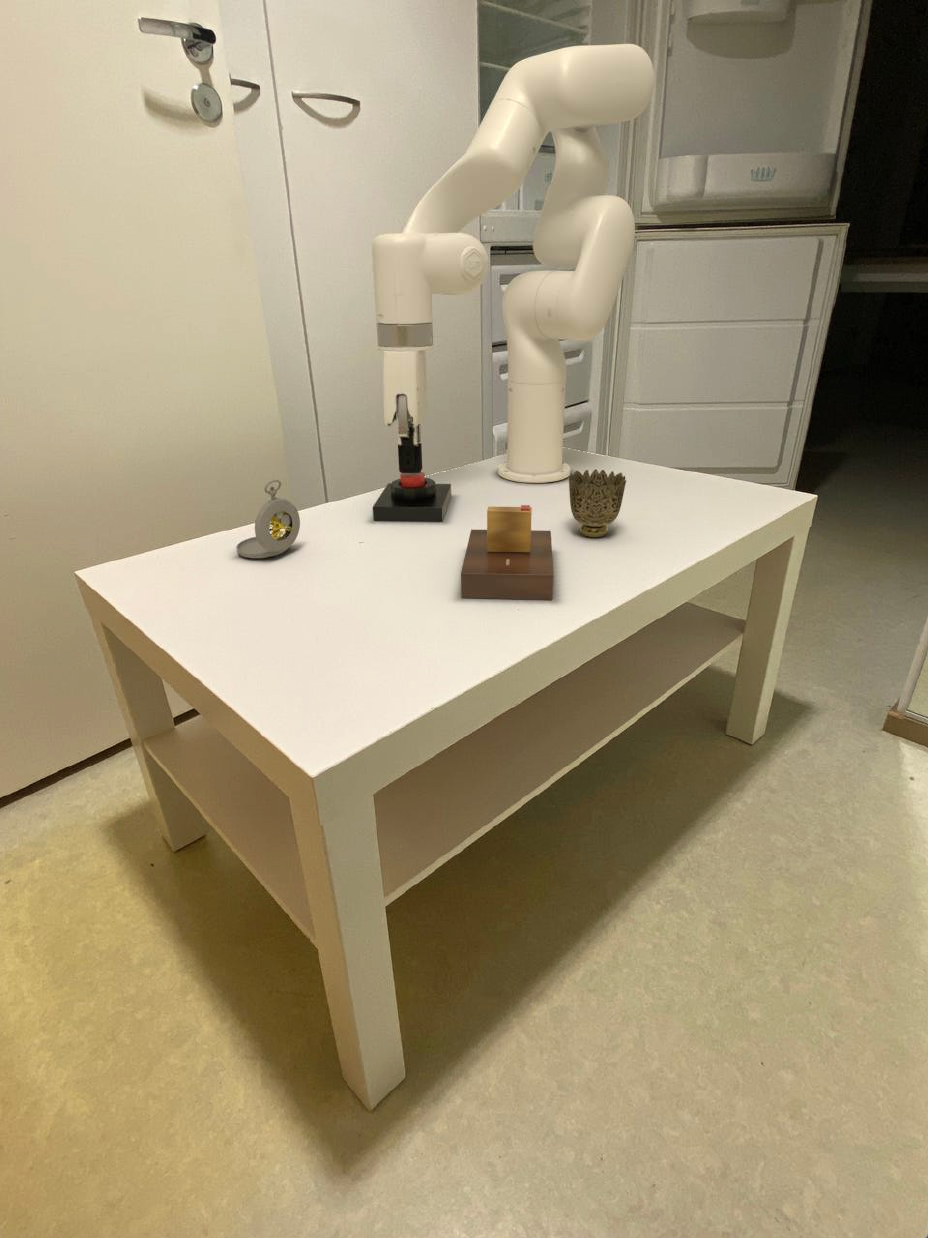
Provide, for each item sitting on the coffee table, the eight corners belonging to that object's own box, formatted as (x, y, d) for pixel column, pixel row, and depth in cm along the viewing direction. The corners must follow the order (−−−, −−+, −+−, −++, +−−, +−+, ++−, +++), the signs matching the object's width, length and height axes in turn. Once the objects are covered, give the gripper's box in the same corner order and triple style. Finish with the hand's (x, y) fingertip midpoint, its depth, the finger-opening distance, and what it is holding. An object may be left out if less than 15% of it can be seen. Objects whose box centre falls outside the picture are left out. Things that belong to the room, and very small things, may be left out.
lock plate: (471, 551, 90) (471, 528, 88) (549, 552, 89) (550, 529, 88) (461, 598, 78) (460, 571, 76) (552, 600, 77) (553, 573, 75)
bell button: (403, 482, 106) (402, 470, 105) (426, 482, 106) (426, 470, 105) (399, 488, 103) (398, 477, 102) (423, 489, 102) (422, 477, 102)
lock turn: (487, 551, 81) (487, 508, 79) (488, 546, 83) (487, 504, 80) (530, 552, 81) (531, 509, 79) (530, 547, 82) (531, 504, 80)
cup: (621, 545, 91) (626, 485, 87) (563, 542, 92) (566, 482, 89) (621, 526, 97) (626, 469, 94) (567, 523, 99) (570, 467, 95)
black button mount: (388, 496, 112) (387, 471, 110) (451, 497, 111) (450, 472, 109) (373, 521, 101) (371, 494, 99) (442, 522, 100) (441, 495, 98)
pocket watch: (246, 542, 94) (234, 468, 90) (308, 542, 94) (299, 468, 89) (226, 566, 87) (211, 487, 82) (293, 565, 87) (282, 486, 82)
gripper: (388, 332, 102) (394, 458, 110) (366, 342, 89) (375, 485, 97) (439, 332, 101) (442, 459, 109) (425, 342, 88) (429, 486, 96)
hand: (410, 471), depth 103 cm, fingers closed
